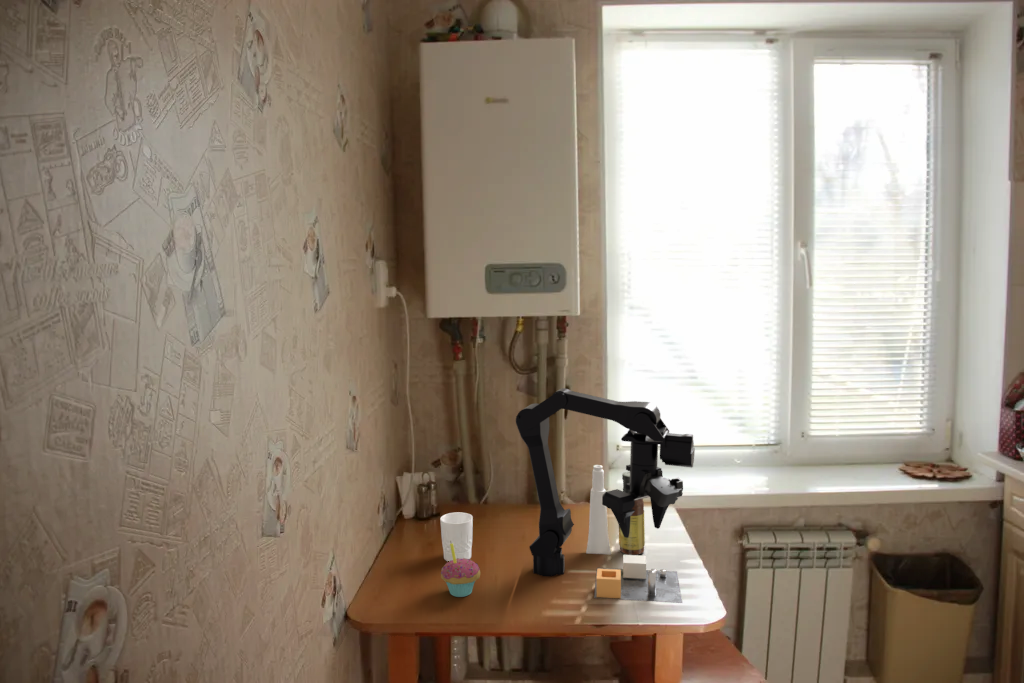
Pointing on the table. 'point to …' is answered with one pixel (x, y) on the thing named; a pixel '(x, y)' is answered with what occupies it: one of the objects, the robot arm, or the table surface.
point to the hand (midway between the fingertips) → (641, 532)
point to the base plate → (642, 588)
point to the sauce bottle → (633, 526)
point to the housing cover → (634, 566)
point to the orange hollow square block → (609, 583)
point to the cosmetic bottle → (598, 516)
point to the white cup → (457, 534)
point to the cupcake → (460, 575)
